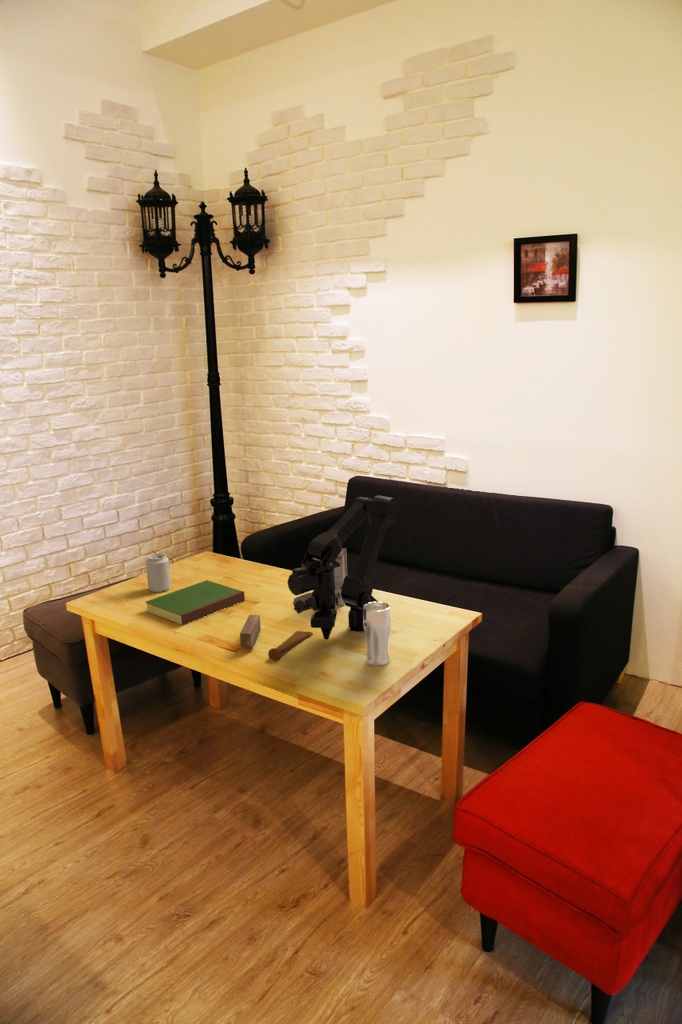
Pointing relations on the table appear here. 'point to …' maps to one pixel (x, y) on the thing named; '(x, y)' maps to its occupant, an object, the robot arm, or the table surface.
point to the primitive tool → (288, 644)
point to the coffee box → (340, 573)
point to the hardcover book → (194, 602)
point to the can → (158, 572)
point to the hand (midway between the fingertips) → (326, 639)
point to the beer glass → (377, 632)
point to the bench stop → (250, 632)
